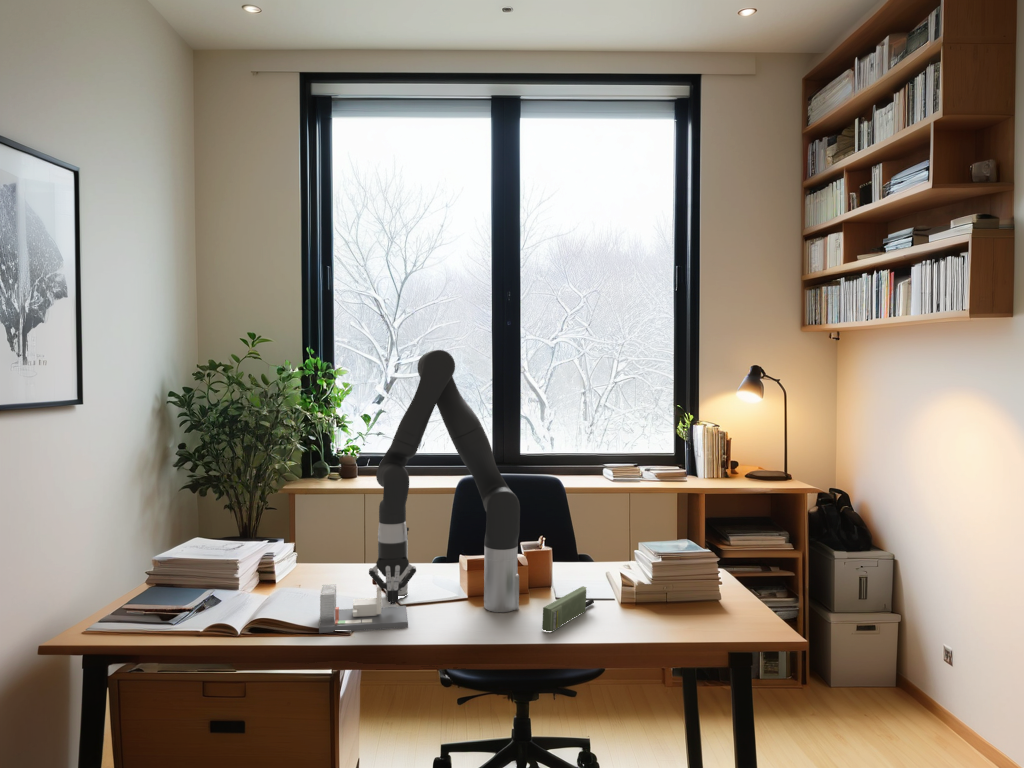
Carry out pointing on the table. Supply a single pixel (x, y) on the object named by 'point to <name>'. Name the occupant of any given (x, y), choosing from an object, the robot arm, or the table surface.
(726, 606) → the table surface
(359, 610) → the white block
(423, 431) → the robot arm
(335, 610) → the drag pointer
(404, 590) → the travel mug
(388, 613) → the gauge base
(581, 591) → the handheld radio
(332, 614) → the grey block
